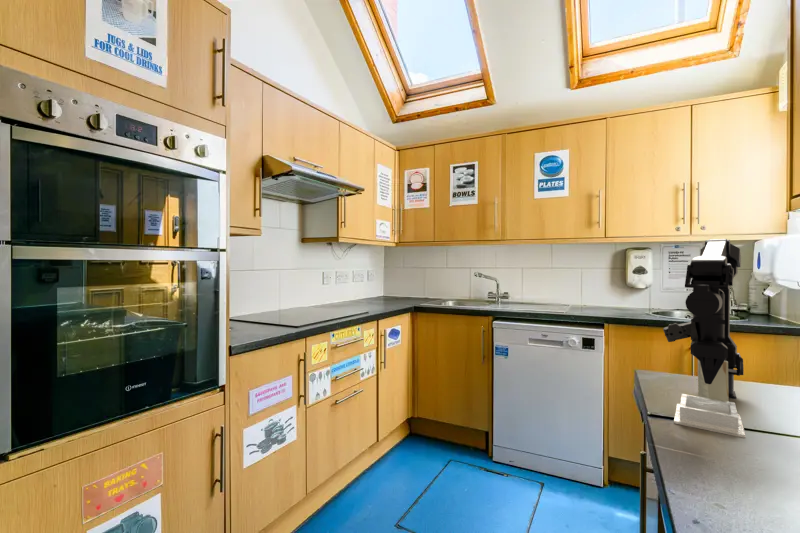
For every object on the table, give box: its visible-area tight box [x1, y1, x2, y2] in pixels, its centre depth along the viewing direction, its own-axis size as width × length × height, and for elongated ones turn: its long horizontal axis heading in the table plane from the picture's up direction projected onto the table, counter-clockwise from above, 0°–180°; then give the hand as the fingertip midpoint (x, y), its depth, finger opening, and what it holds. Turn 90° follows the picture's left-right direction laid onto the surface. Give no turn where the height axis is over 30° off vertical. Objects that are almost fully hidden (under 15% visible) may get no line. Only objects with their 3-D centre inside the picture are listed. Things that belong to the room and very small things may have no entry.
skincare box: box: [697, 359, 730, 402], centre depth 98 cm, size 6×4×12 cm
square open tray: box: [673, 393, 746, 439], centre depth 89 cm, size 14×12×4 cm
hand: (707, 381), depth 89 cm, fingers open, 5 cm apart
